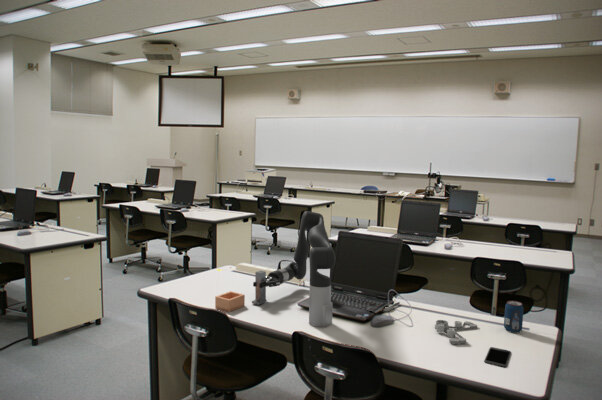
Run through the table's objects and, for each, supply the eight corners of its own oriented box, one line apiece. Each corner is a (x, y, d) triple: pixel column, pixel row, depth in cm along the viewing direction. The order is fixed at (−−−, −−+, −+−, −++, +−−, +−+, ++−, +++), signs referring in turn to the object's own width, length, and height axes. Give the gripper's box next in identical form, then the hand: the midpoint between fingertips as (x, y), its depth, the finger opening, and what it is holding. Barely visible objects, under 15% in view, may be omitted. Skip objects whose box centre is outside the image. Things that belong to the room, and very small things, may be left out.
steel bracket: (266, 301, 211) (266, 271, 210) (258, 304, 206) (258, 274, 205) (259, 299, 214) (259, 270, 212) (251, 303, 209) (251, 272, 207)
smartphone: (483, 363, 153) (483, 361, 153) (490, 348, 165) (490, 345, 165) (506, 369, 149) (506, 367, 149) (511, 353, 161) (511, 351, 161)
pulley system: (424, 340, 173) (463, 348, 164) (424, 329, 172) (463, 336, 164) (444, 322, 195) (479, 328, 187) (444, 311, 195) (479, 317, 187)
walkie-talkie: (379, 316, 196) (401, 306, 211) (379, 307, 196) (401, 297, 211) (363, 311, 202) (385, 301, 217) (363, 302, 202) (385, 293, 217)
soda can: (512, 326, 186) (514, 299, 185) (525, 332, 180) (527, 304, 179) (499, 328, 184) (501, 301, 183) (513, 334, 178) (515, 306, 176)
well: (244, 305, 207) (244, 294, 206) (229, 312, 198) (229, 300, 197) (230, 302, 212) (230, 291, 211) (215, 307, 203) (215, 296, 202)
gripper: (267, 268, 225) (245, 275, 211) (289, 272, 217) (268, 280, 203) (267, 282, 226) (245, 290, 212) (289, 286, 218) (268, 295, 204)
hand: (256, 285), depth 208 cm, fingers closed on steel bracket, 3 cm apart
